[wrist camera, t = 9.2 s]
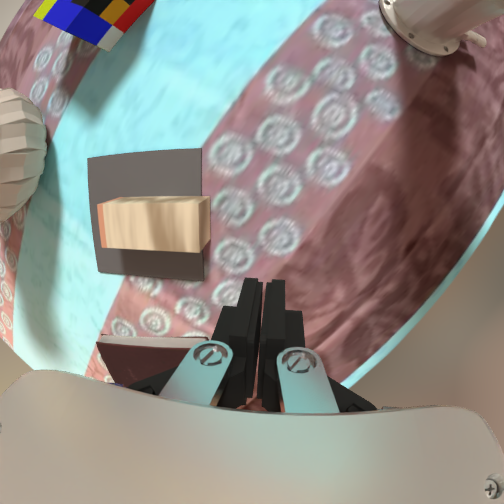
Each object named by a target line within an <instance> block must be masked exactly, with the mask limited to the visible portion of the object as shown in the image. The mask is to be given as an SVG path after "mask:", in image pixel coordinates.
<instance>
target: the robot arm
mask: <svg viewBox="0 0 504 504" xmlns="http://www.w3.org/2000/svg"><path fill="white" fill-rule="evenodd" d="M379 4H380V8H381V11H382V13H383V15H384V17H385V19H386V20H387V22H388V23H389V24H390V26H391V27H392V28H393V29H394V30H395V31H396V33H397V34H398V35H400V36H401V37H402V38H403V39H404V40H405V41H406V42H408V43H409V44H411V45H412V46H413V47H415V48H417V49H419V50H420V51H423V52H425V53H427V54H430V55H434V56H447V55H449V54H452V53H453V52H455V51H456V50H457V49H458V47H459V45H460V40H462V39H463V40H465V41H471V42H472V43H474V44H476V45H478V46H479V47H481V48H484V47H485V46H486V39H485V38H484V37H482V36H481V35H479V34H477V33H475V32H473V31H471V30H472V29H475V28H476V27H478V26H480V25H482V24H484V23H486V22H488V21H490V20H492V19H494V18H496V17H498V16H501V15H503V14H504V0H379ZM262 290H263V282H258V278H245V279H244V283H243V286H242V290H241V293H240V297H239V300H238V304H237V307H233V306H223V308H222V311H221V314H220V316H219V319H218V322H217V325H216V327H215V330H214V333H213V336H212V339H211V340H210V341H203V342H199V343H197V344H196V345H194V346H193V347H192V348H191V349H190V350H189V352H188V353H187V355H186V356H185V358H184V359H183V360H182V362H181V363H180V365H179V366H177V367H174V368H172V369H169V370H167V371H164V372H161V373H159V374H156V375H154V376H151V377H148V378H146V379H143V380H140V381H137V382H135V383H133V384H131V385H129V386H128V387H124V384H117V383H106V382H103V381H99V380H96V379H92V378H89V377H85V376H82V375H79V374H74V373H70V372H66V371H59V370H34V371H30V372H27V373H25V374H24V375H22V376H21V377H19V378H18V379H17V380H16V381H15V382H13V383H12V384H11V385H10V387H8V389H6V391H5V392H4V393H3V394H2V395H1V396H0V504H504V454H503V452H502V449H501V447H500V445H499V443H498V441H497V439H496V437H495V435H494V433H493V432H492V430H491V428H490V427H489V425H488V424H487V422H486V421H485V420H484V419H483V418H482V417H481V416H480V415H479V414H478V413H476V412H475V411H473V410H470V409H467V408H463V407H456V406H449V405H447V406H446V405H430V406H417V407H409V408H397V407H382V409H377V408H376V407H375V406H374V405H373V404H371V403H370V402H369V401H367V400H365V399H364V398H362V397H360V396H359V395H357V394H355V393H354V392H352V391H350V390H349V389H347V388H346V387H344V386H342V385H341V384H339V383H338V382H336V381H335V380H333V379H331V378H330V377H328V376H327V375H326V372H325V369H324V366H323V364H322V361H321V359H320V357H319V355H318V354H317V353H315V352H314V351H312V350H310V349H308V348H305V338H304V327H303V316H302V311H293V310H285V280H275V279H272V283H268V282H267V285H266V293H265V301H264V310H263V318H262V326H261V311H262ZM260 332H261V334H260ZM259 343H260V347H259ZM258 351H259V366H258V384H257V398H258V399H262V407H264V408H265V409H266V410H267V411H269V412H266V411H253V410H242V409H236V408H237V407H239V406H241V405H246V400H247V398H252V396H253V389H254V381H255V374H256V366H257V359H258Z"/></svg>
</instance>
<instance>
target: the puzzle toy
mask: <svg viewBox="0 0 504 504" xmlns="http://www.w3.org/2000/svg"><path fill="white" fill-rule="evenodd" d="M154 1H155V0H45V1H44V2H43V3H42V5H41V6H40V7H39V9H38V10H37V11H36V13H35V14H34V16H35V17H37V18H39V19H41V20H43V21H45V22H47V23H49V24H51V25H53V26H55V27H57V28H59V29H61V30H63V31H65V32H67V33H70V34H72V35H74V36H76V37H79V38H81V39H83V40H85V41H87V42H89V43H91V44H93V45H95V46H98V47H100V48H102V49H104V50H106V51H108V52H110V51H111V49H112V48H113V47H114V45H115V44H116V43H117V42H118V40H119V39H120V38H121V37H122V36H123V34H124V33H125V32H126V31H127V30H128V28H129V27H130V26H131V25H132V24H133V23H134V22H135V21H136V19H137V18H138V17H139V16H140V15H141V14H142V13H143V12H144V11H145V10H146V9H147V8H148V7H149V6H150V5H151V4H152V3H153V2H154Z"/></svg>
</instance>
